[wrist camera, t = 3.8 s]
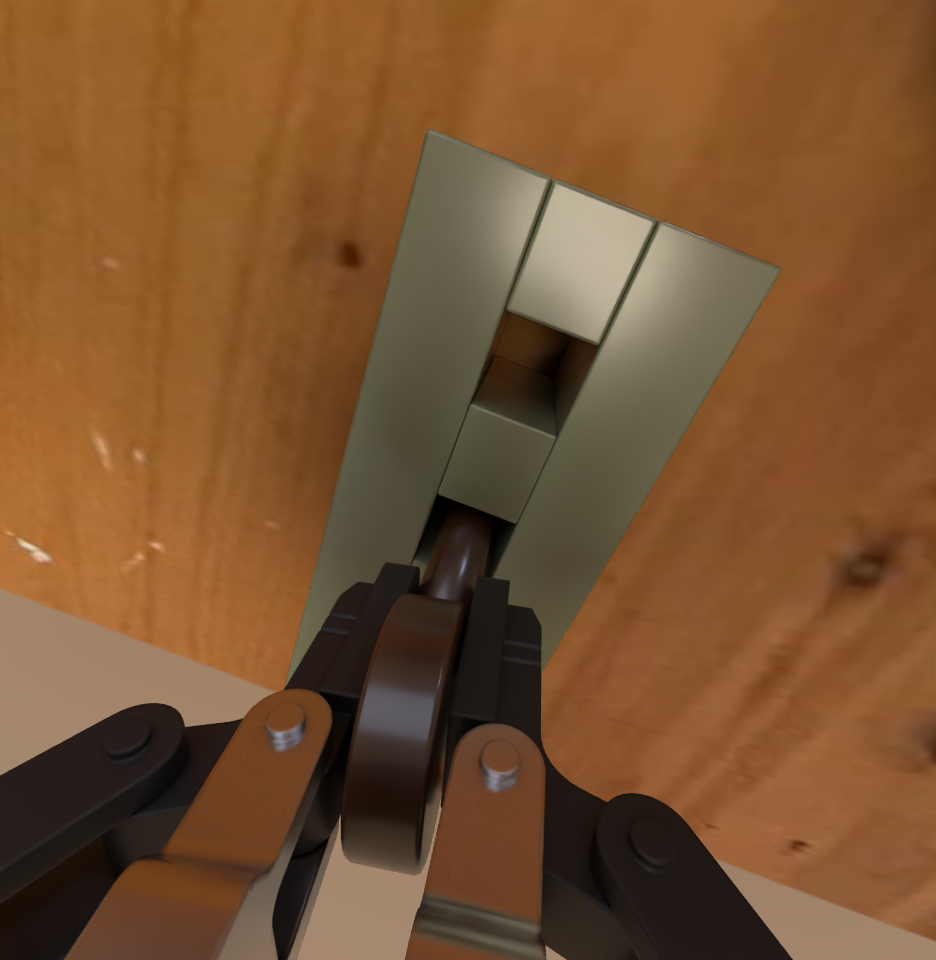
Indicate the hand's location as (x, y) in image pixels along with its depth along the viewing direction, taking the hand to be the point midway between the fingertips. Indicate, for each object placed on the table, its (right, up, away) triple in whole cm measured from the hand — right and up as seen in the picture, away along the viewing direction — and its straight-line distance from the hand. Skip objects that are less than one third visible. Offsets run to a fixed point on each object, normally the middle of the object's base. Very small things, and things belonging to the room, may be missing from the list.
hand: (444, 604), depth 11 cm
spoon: (+1, +4, +8) cm, 9 cm away
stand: (+1, +4, +8) cm, 9 cm away
